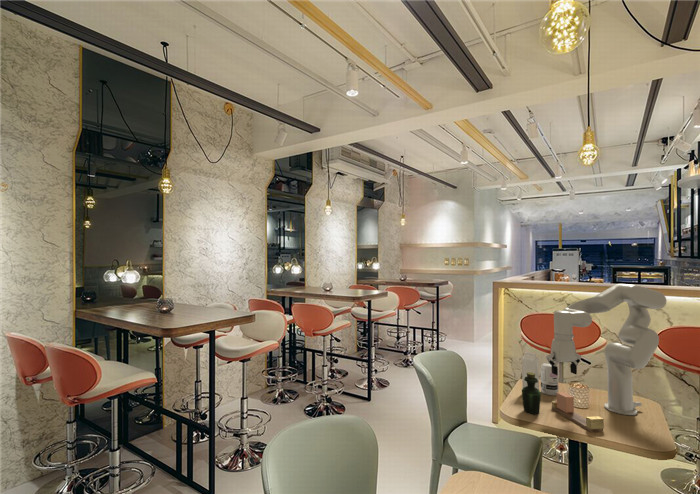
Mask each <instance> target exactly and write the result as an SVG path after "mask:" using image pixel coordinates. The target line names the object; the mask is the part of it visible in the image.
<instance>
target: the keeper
mask: <svg viewBox="0 0 700 494" xmlns="http://www.w3.org/2000/svg"><path fill="white" fill-rule="evenodd" d="M574 399H575V398H574V396H573V395H571V394H568V393H567V392H565V391H563V392H562V391H558V392H557V395H556V401H557V408H559V409H561V410H562V411H564V412H566V413H570V412H575V405H574V403H575V401H574Z"/></svg>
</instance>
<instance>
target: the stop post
mask: <svg viewBox="0 0 700 494" xmlns="http://www.w3.org/2000/svg"><path fill="white" fill-rule="evenodd" d="M585 418H586V427H588V428H590V429H603V430H604V427H605V425H604V424H605V423H604V422H605V421H604V418H603V417H601V416H600V415H599V416H598V415H597V416H586V417H585Z"/></svg>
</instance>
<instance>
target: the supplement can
mask: <svg viewBox="0 0 700 494" xmlns="http://www.w3.org/2000/svg"><path fill="white" fill-rule="evenodd" d="M540 392H541V393H543V394H544V395H546V396H557V392H559V374H558V375H555V374H552V365H550V363H549V362H543V363H541V365H540Z"/></svg>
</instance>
